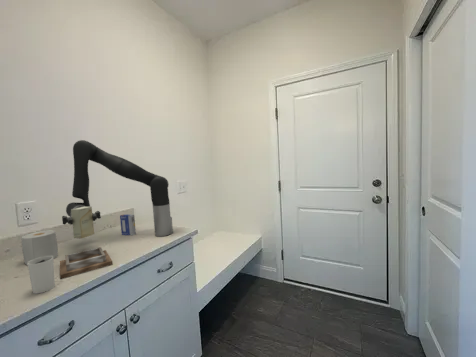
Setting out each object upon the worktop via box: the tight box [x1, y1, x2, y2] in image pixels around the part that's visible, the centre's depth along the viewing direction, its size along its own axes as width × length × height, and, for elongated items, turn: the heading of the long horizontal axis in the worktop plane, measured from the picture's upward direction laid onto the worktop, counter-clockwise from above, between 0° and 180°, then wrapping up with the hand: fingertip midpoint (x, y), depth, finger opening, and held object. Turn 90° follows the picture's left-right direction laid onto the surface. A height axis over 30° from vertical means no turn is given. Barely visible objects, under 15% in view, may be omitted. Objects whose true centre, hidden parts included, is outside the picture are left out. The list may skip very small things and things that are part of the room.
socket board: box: [59, 246, 114, 280], centre depth 96 cm, size 17×17×4 cm
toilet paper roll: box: [21, 229, 59, 266], centre depth 105 cm, size 12×12×12 cm
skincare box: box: [71, 206, 95, 239], centre depth 97 cm, size 6×4×12 cm
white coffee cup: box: [26, 256, 56, 294], centre depth 78 cm, size 7×7×10 cm
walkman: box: [119, 214, 137, 236], centre depth 136 cm, size 8×3×12 cm, turn 74°
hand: (83, 220), depth 95 cm, fingers closed on skincare box, 7 cm apart
